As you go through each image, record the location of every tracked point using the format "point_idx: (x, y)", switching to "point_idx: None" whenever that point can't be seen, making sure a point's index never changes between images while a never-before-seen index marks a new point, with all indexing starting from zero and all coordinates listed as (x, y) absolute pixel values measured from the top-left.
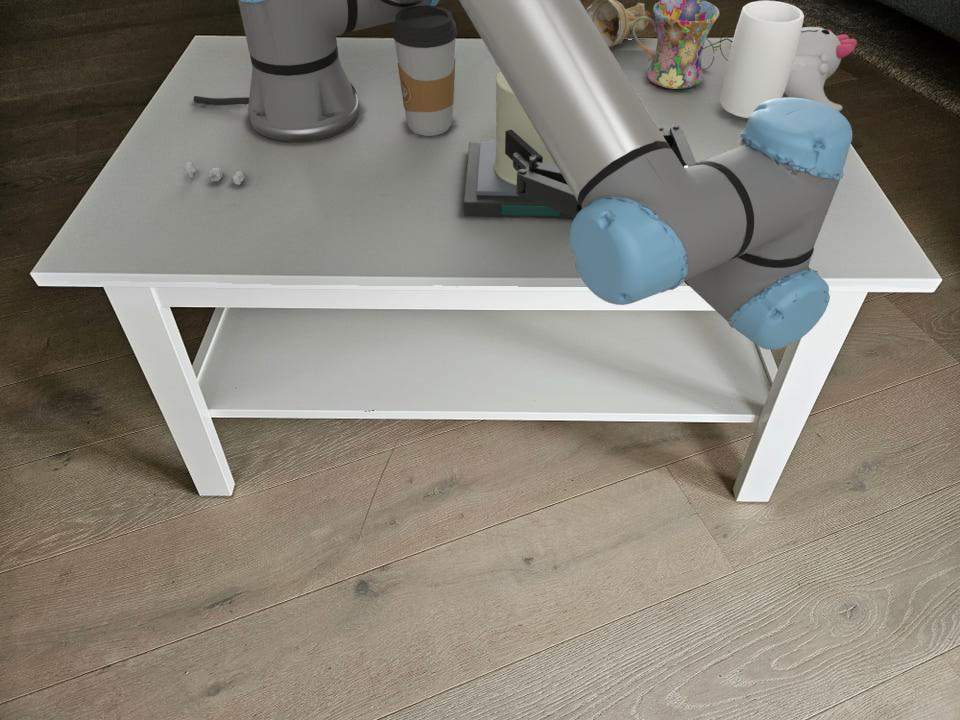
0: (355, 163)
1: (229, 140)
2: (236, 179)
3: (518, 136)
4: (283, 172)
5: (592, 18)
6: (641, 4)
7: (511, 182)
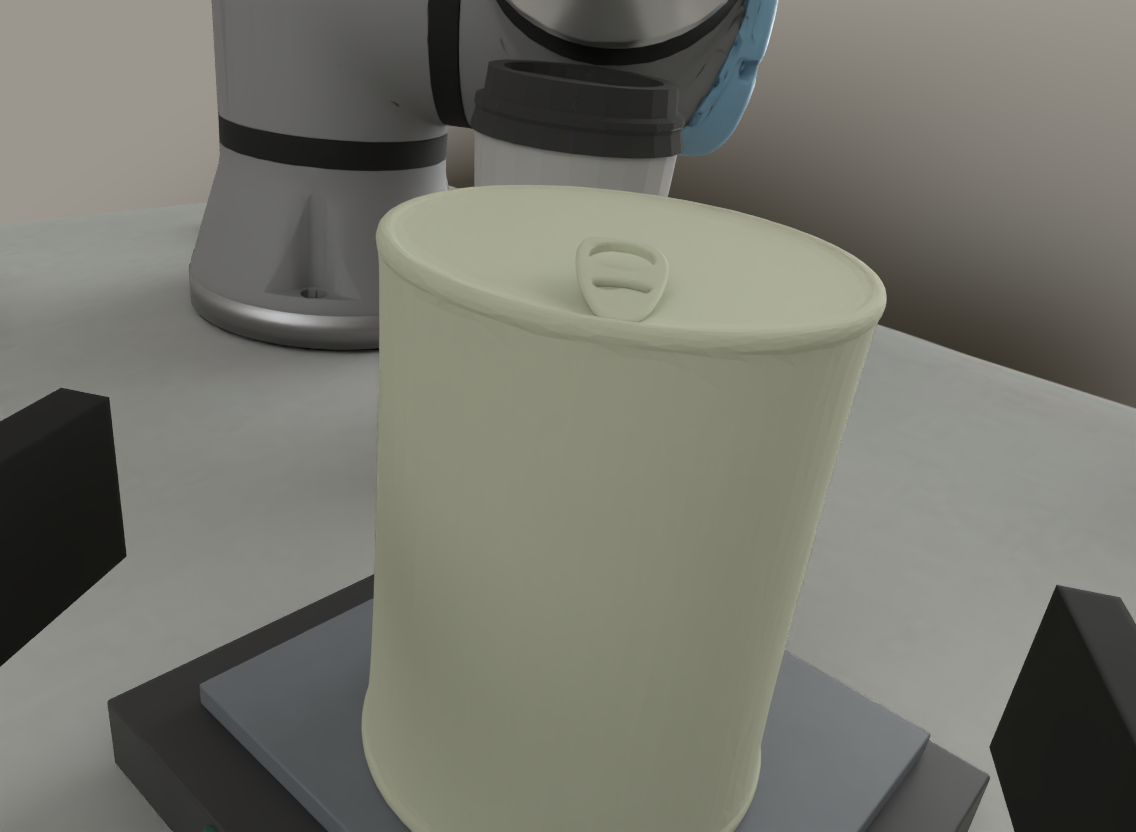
0: (222, 417)
1: (135, 277)
2: None
3: (16, 447)
4: (64, 360)
5: None
6: None
7: (363, 738)
